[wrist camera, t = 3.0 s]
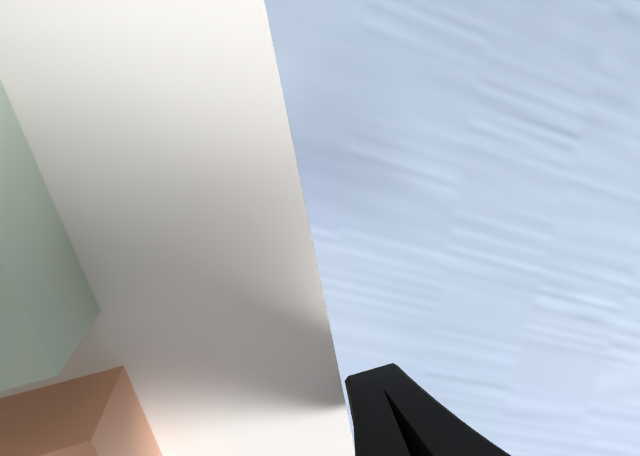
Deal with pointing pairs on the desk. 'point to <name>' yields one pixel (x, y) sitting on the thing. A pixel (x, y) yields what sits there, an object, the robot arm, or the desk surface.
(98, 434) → the terracotta tile
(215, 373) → the white board
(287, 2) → the desk surface
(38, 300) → the sage-green tile
